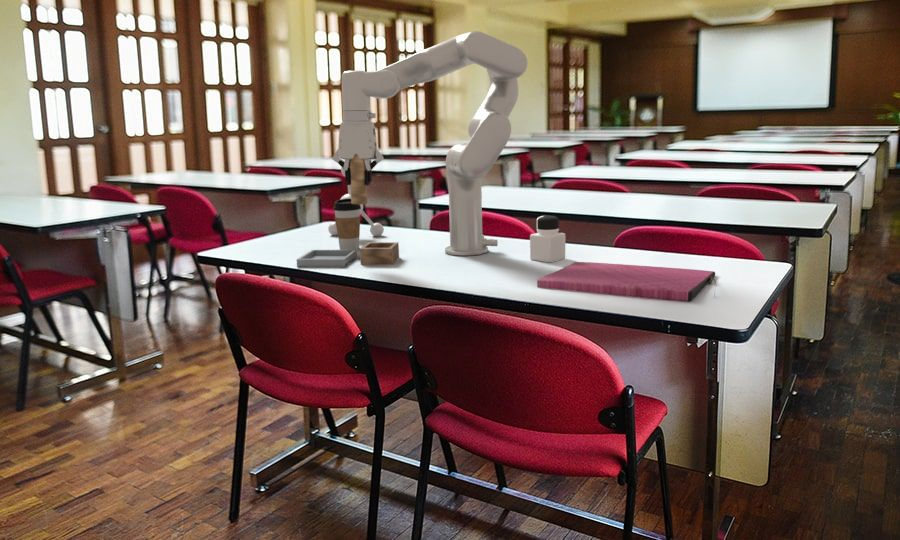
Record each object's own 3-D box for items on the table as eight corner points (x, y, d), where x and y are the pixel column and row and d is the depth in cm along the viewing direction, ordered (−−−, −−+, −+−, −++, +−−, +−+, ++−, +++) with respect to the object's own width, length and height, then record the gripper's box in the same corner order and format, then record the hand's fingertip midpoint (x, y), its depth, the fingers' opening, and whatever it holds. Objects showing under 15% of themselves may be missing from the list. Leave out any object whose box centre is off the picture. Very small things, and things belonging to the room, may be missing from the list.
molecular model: (331, 235, 265) (325, 162, 260) (386, 234, 262) (381, 160, 257) (314, 245, 247) (307, 166, 242) (374, 243, 245) (368, 164, 239)
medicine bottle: (565, 258, 215) (566, 215, 212) (550, 263, 210) (550, 219, 207) (545, 255, 219) (544, 213, 217) (529, 259, 214) (529, 217, 212)
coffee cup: (365, 245, 242) (363, 198, 238) (360, 251, 233) (357, 201, 230) (339, 246, 242) (336, 198, 239) (332, 251, 234) (329, 202, 231)
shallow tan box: (399, 257, 222) (398, 242, 221) (392, 264, 213) (391, 248, 212) (368, 257, 223) (367, 242, 222) (360, 264, 215) (359, 248, 214)
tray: (357, 256, 225) (357, 249, 225) (344, 266, 212) (344, 259, 212) (312, 256, 227) (312, 249, 227) (297, 266, 214) (296, 259, 214)
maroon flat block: (535, 273, 183) (575, 254, 206) (535, 289, 184) (575, 269, 207) (710, 287, 164) (732, 264, 187) (709, 305, 165) (731, 280, 188)
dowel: (368, 202, 217) (367, 152, 214) (365, 204, 213) (363, 153, 210) (353, 202, 217) (352, 152, 214) (349, 204, 213) (348, 153, 210)
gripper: (389, 117, 213) (391, 183, 216) (330, 117, 215) (332, 183, 219) (384, 117, 205) (385, 186, 209) (322, 117, 207) (325, 185, 211)
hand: (358, 184), depth 214 cm, fingers closed on dowel, 4 cm apart
